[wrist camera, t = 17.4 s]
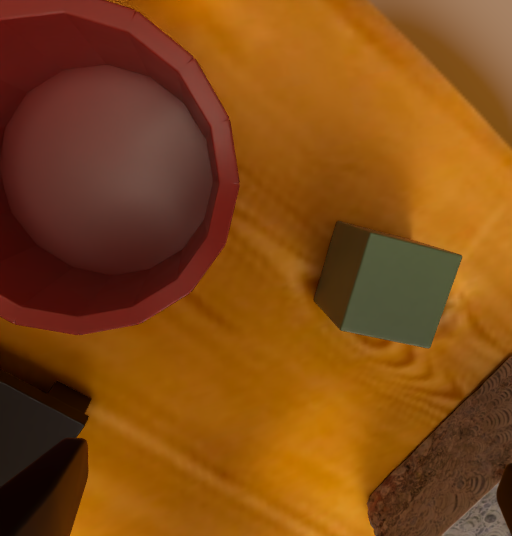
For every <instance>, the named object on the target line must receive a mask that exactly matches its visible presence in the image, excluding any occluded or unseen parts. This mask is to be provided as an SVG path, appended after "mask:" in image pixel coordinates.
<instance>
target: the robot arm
mask: <svg viewBox="0 0 512 536" xmlns="http://www.w3.org/2000/svg"><path fill="white" fill-rule="evenodd" d="M87 478H88V445H87V441H86V440H85V439H83V438H65V439H63V440H62V441H60V442H59V443H58V444H56V445H55V446H54V447H52V448H51V449H50V450H48V451H47V452H46V453H44V454H43V455H42V456H41V457H39V458H38V459H37V460H35V461H34V462H33V463H31V464H30V465H29V466H27V467H26V468H25V469H23V470H22V471H21V472H19V473H18V474H17V475H16V476H14V477H13V478H12V479H10V480H9V481H8V482H6V483H5V484H4V485H2V486H1V487H0V536H70V533H71V530H72V527H73V524H74V521H75V517H76V514H77V511H78V508H79V505H80V501H81V498H82V495H83V492H84V489H85V485H86V482H87ZM496 498H497V502H498V505H499V508H500V510H501V512H502V515H503V517H504V519H505V522H506V524H507V527H508V529H509V531H510V534H511V536H512V463H509V464H507V465H506V467H505V469H504V472H503V474H502V477H501V480H500V482H499V485H498V488H497V491H496Z"/></svg>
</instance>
